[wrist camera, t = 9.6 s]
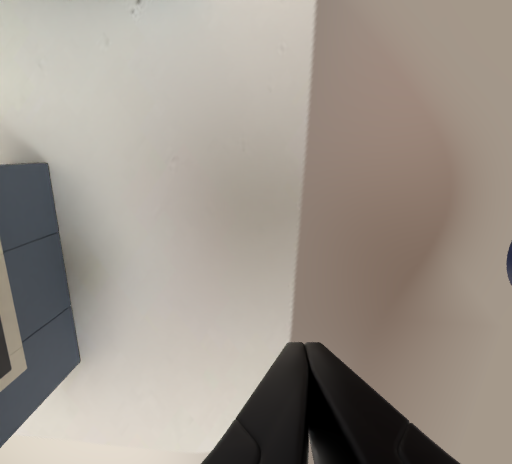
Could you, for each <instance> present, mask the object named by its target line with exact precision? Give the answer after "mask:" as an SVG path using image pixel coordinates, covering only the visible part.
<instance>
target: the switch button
mask: <svg viewBox="0 0 512 464" xmlns="http://www.w3.org/2000/svg"><path fill="white" fill-rule="evenodd" d="M11 369H12V367H11V363H10V358H9V354H8V349H7V344H6V340H5V335H4V331H3V326H2V322H1V317H0V379H1V378H2V377H4V376H5V375H6V374H7V373H8V372H10V371H11Z"/></svg>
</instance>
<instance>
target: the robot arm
mask: <svg viewBox="0 0 512 464" xmlns="http://www.w3.org/2000/svg"><path fill="white" fill-rule="evenodd" d="M309 439H310V444H311V449H312V454H313V460H314V464H460V463H459V462H458V461H456V460H455V459H454V458H452V457H451V456H450V455H449V454H447V453H446V452H445V451H444V450H443V449H441V448H440V447H439V446H438V445H437V444H435V443H434V442H433V441H432V440H431V439H429V438H428V437H427V436H426V435H425V434H424V433H422V432H421V431H420V430H419V429H418V428H417V427H416V426H415V425H413V424H412V423H409V420H407V418H405V417H404V416H403V415H402V414H401V413H400V412H399V411H397V410H396V409H395V408H394V407H393V406H392V405H391V404H390V403H388V402H387V401H386V400H385V399H384V398H383V397H382V396H380V395H379V394H378V393H377V392H376V391H375V390H374V389H373V388H371V387H370V386H369V385H368V384H367V383H366V382H365V381H363V380H362V379H361V378H360V377H359V376H358V375H357V374H355V373H354V372H353V371H352V370H351V369H350V368H349V367H348V366H346V365H345V364H344V363H343V362H342V361H341V360H340V359H339V358H337V357H336V356H335V355H334V354H333V353H332V352H331V351H329V350H328V349H327V348H326V347H325V346H324V345H323V344H321V343H319V342H317V343H316V342H307V343H305V344H303V343H301V342H289V343H287V344H286V346H285V347H284V349H283V350H282V352H281V353H280V355H279V356H278V357H277V359H276V360H275V362H274V363H273V365H272V366H271V368H270V369H269V371H268V372H267V373H266V375H265V376H264V378H263V379H262V381H261V382H260V384H259V385H258V387H257V388H256V389H255V391H254V392H253V394H252V395H251V397H250V398H249V400H248V401H247V403H246V404H245V406H244V407H243V408H242V410H241V411H240V413H239V414H238V416H237V417H236V420H234V421H233V423H232V424H231V426H230V427H229V429H228V430H227V432H226V433H225V434H224V436H223V437H222V438H221V440H220V441H219V442H218V444H217V445H216V446H215V448H214V449H213V450H212V451H211V453H210V454H209V455H208V456H207V457H206V459H205V460H204V461H203V462H202V463H201V464H308V452H309Z"/></svg>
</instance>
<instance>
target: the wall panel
mask: <svg viewBox="0 0 512 464" xmlns="http://www.w3.org/2000/svg"><path fill="white" fill-rule="evenodd" d="M58 231H59V230H58V224H57V218H56V212H55V206H54V200H53V194H52V188H51V182H50V175H49V169H48V164H47V163H28V164H0V317H1V322H2V326H3V331H4V335H5V340H6V344H7V349H8V354H9V358H10V363H11V367H12V369H11V371H10V372H8V373H7V374H6V375H5V376H4V377H2V378H1V379H0V448H1V447H2V445H3V444H4V443H5V442H6V441H7V440H8V439H9V438H10V437H11V436H12V435H13V434H14V433H15V431H16V430H17V429H18V428H19V427H20V426H21V425H22V424H23V423H24V422H25V421H26V420H27V419H28V417H29V416H30V415H31V414H32V413H33V412H34V411H35V410H36V409H37V408H38V407H39V406H40V405H41V403H42V402H43V401H44V400H45V399H46V398H47V397H48V396H49V395H50V394H51V393H52V392H53V391H54V390H55V388H56V387H57V386H58V385H59V384H60V383H61V382H62V381H63V380H64V379H65V378H66V377H67V376H68V374H69V373H70V372H71V371H72V370H73V369H74V368H75V367H76V366H77V365H78V364H79V363H80V357H79V351H78V345H77V339H76V333H75V327H74V321H73V315H72V308H71V306H70V305H71V302H70V296H69V290H68V284H67V278H66V272H65V266H64V260H63V254H62V248H61V242H60V236H59V232H58Z"/></svg>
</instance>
